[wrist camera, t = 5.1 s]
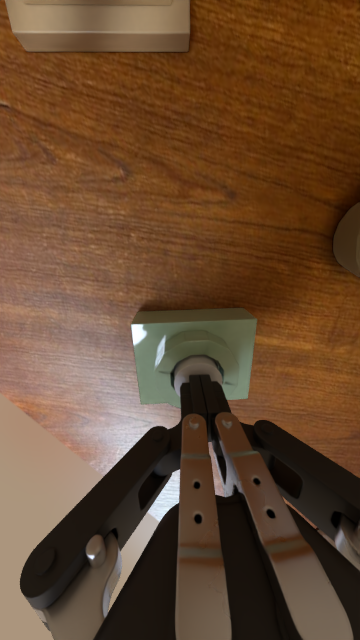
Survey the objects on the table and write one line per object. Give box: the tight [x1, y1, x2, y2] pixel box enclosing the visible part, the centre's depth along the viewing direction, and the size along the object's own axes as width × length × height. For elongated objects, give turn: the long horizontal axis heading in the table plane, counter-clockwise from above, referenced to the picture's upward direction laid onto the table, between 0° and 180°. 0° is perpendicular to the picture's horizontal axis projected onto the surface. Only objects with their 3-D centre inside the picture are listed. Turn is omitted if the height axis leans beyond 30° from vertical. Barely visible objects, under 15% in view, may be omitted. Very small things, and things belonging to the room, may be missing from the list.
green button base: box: [131, 308, 257, 409], centre depth 17 cm, size 10×8×5 cm
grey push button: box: [174, 354, 222, 397], centre depth 15 cm, size 4×4×2 cm
